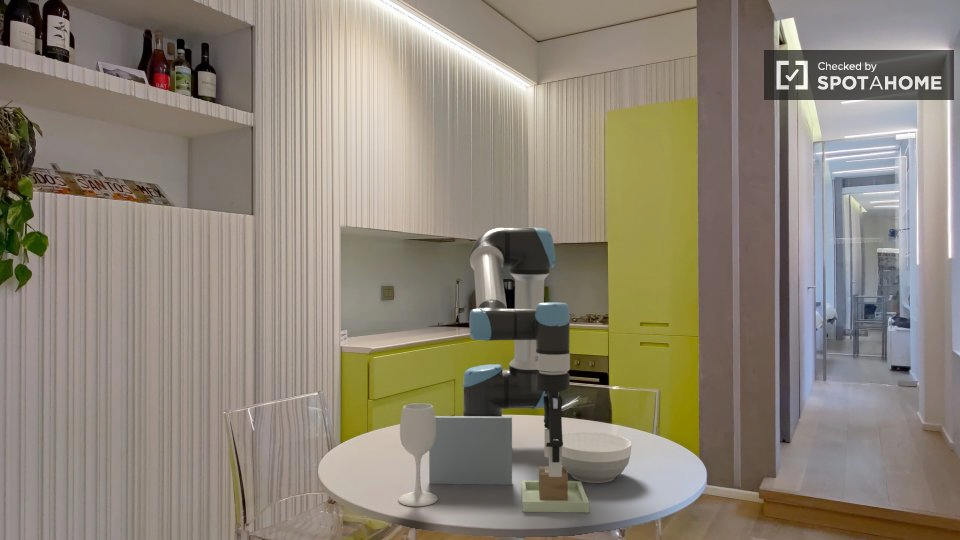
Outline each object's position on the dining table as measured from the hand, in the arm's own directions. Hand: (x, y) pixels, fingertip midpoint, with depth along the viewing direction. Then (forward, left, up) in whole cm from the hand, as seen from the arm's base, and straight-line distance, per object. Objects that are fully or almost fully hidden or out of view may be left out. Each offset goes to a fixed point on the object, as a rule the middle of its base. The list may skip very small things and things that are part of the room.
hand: (552, 466), depth 140 cm
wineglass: (-25, -17, -8) cm, 31 cm away
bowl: (0, +21, -8) cm, 22 cm away
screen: (-22, -1, -7) cm, 23 cm away
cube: (0, 0, -7) cm, 7 cm away
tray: (0, 0, -7) cm, 8 cm away
